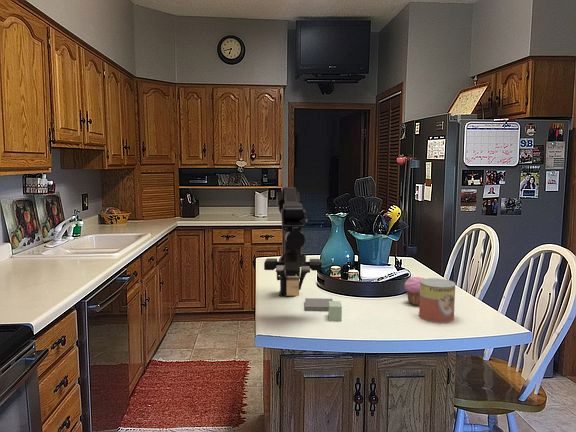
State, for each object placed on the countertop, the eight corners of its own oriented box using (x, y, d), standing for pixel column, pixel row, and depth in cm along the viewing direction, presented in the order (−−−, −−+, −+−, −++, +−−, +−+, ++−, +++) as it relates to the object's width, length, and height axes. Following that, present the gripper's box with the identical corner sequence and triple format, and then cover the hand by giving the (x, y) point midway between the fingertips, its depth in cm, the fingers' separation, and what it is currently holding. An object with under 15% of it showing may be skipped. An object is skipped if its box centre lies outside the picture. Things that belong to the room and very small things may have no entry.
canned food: (434, 325, 148) (435, 288, 147) (411, 314, 159) (412, 280, 157) (461, 320, 153) (463, 284, 152) (437, 310, 163) (439, 276, 162)
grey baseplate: (305, 302, 172) (305, 298, 172) (332, 302, 172) (332, 298, 172) (305, 310, 163) (305, 306, 162) (333, 311, 162) (333, 307, 162)
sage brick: (328, 315, 158) (328, 301, 158) (340, 315, 158) (340, 301, 158) (329, 321, 152) (329, 306, 152) (341, 321, 152) (341, 306, 152)
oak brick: (287, 290, 158) (287, 276, 157) (299, 290, 158) (299, 276, 157) (286, 295, 152) (286, 280, 151) (298, 295, 152) (298, 280, 151)
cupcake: (399, 301, 173) (400, 275, 172) (418, 299, 177) (419, 273, 175) (415, 308, 165) (415, 281, 164) (434, 305, 168) (435, 278, 167)
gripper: (262, 247, 145) (262, 296, 147) (322, 248, 144) (321, 297, 146) (265, 241, 156) (265, 287, 158) (321, 242, 155) (320, 287, 157)
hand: (293, 289), depth 155 cm, fingers closed on oak brick, 4 cm apart
